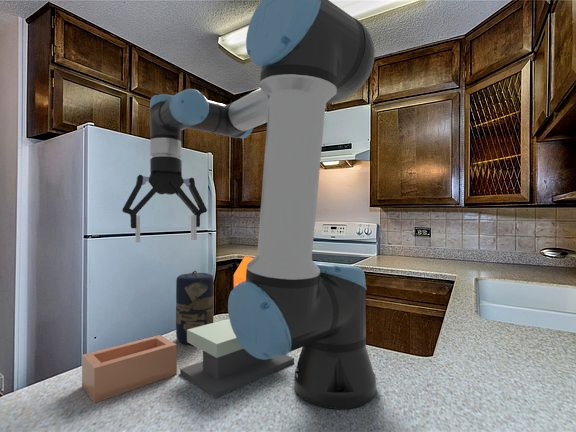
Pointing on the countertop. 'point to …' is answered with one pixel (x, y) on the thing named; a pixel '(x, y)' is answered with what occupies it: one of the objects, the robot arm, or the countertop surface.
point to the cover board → (214, 338)
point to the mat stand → (231, 371)
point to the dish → (128, 367)
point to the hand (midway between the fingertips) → (166, 241)
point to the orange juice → (241, 271)
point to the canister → (193, 302)
